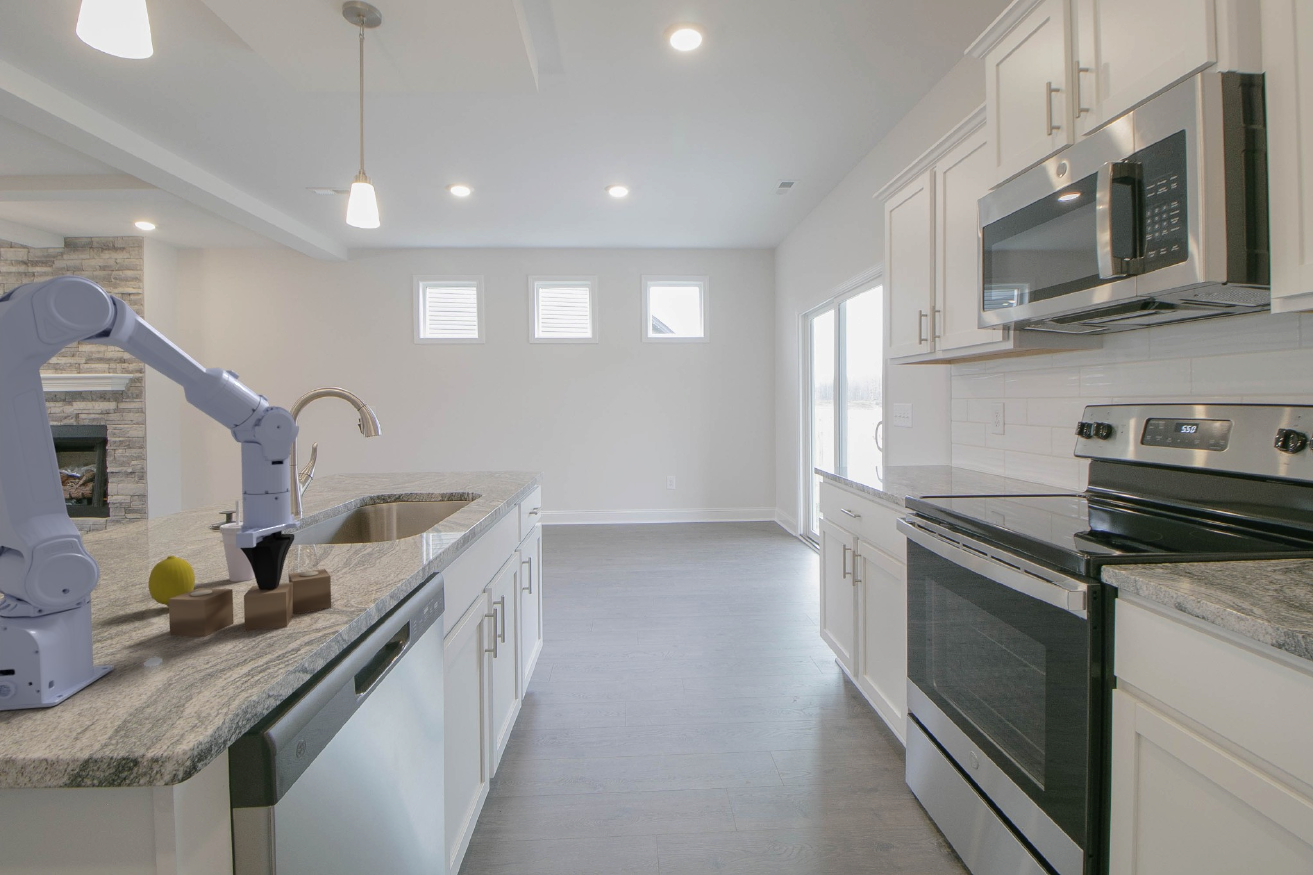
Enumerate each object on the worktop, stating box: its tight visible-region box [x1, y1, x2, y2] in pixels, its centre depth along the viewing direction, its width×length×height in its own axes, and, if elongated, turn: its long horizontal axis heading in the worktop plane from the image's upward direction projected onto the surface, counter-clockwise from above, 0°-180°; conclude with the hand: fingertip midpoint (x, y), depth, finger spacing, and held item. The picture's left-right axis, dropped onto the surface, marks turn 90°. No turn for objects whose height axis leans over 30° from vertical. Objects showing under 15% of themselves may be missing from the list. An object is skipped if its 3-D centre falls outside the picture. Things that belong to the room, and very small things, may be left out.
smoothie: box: [218, 500, 256, 583], centre depth 110 cm, size 6×6×14 cm
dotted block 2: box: [288, 568, 332, 615], centre depth 95 cm, size 5×5×5 cm
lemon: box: [148, 555, 196, 608], centre depth 94 cm, size 6×6×8 cm
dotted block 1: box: [168, 587, 234, 638], centre depth 85 cm, size 5×5×5 cm
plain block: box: [243, 582, 294, 632], centre depth 88 cm, size 5×5×5 cm
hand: (268, 587), depth 88 cm, fingers closed
